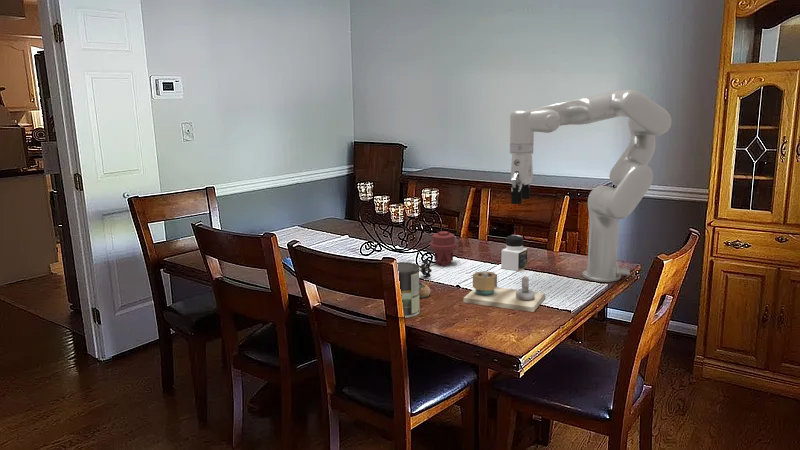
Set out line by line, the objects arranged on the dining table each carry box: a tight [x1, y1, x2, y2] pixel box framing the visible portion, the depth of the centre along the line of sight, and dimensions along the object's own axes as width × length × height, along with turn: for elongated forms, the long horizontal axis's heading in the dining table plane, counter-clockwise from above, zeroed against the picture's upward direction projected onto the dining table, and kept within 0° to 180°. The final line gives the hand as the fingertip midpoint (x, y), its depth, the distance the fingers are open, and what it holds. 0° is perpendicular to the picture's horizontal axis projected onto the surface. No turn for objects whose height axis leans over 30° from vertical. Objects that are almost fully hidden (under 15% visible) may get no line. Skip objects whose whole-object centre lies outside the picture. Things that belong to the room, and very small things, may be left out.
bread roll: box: [419, 281, 431, 299], centre depth 201 cm, size 11×11×5 cm
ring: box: [472, 270, 498, 291], centre depth 195 cm, size 7×7×4 cm
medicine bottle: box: [500, 234, 528, 272], centre depth 227 cm, size 7×7×12 cm
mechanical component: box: [429, 230, 458, 267], centre depth 234 cm, size 12×10×10 cm
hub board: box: [462, 271, 546, 313], centre depth 192 cm, size 22×14×8 cm, turn 63°
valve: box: [419, 259, 432, 278], centre depth 216 cm, size 7×7×12 cm
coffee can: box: [396, 261, 421, 319], centre depth 183 cm, size 10×10×14 cm
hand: (520, 201), depth 203 cm, fingers open, 9 cm apart
